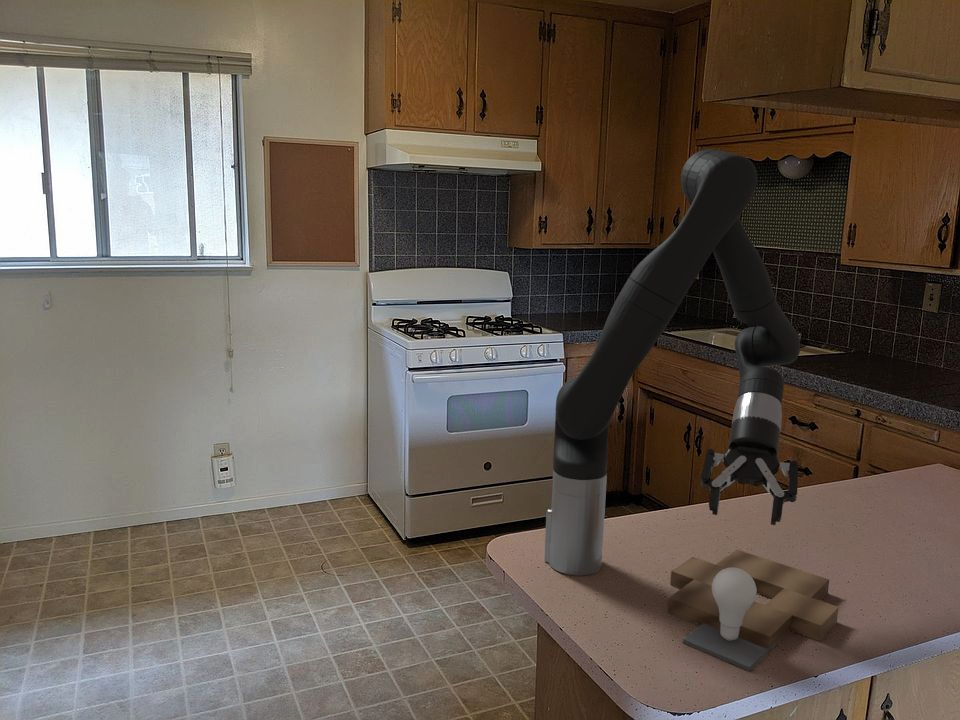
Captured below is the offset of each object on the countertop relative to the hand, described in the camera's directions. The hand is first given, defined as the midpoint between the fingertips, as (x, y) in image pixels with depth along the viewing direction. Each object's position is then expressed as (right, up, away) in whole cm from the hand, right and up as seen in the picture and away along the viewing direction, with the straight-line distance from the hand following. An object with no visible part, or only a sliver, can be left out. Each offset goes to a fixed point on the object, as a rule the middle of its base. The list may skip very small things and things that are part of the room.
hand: (743, 517), depth 118 cm
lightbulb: (-4, -17, -6) cm, 18 cm away
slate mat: (-4, -17, -6) cm, 19 cm away
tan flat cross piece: (+3, -15, +7) cm, 17 cm away
